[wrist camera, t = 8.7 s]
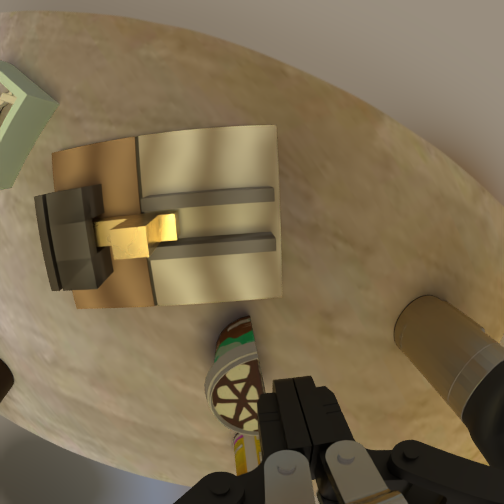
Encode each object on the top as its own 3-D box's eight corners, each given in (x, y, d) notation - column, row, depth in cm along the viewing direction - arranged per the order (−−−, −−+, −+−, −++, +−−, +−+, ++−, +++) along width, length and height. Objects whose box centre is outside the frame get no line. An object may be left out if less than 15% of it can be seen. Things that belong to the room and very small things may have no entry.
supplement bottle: (240, 453, 43) (247, 515, 31) (227, 431, 41) (232, 498, 29) (279, 444, 43) (293, 506, 31) (270, 421, 41) (284, 488, 29)
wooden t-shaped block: (178, 210, 29) (164, 224, 22) (180, 234, 30) (168, 255, 23) (71, 222, 28) (35, 238, 21) (74, 243, 29) (40, 265, 22)
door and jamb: (272, 127, 30) (286, 117, 23) (279, 289, 35) (291, 318, 28) (60, 153, 28) (26, 153, 22) (83, 301, 33) (59, 328, 27)
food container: (195, 313, 35) (188, 364, 25) (247, 304, 35) (257, 353, 26) (219, 390, 38) (220, 445, 29) (263, 383, 39) (274, 437, 29)
